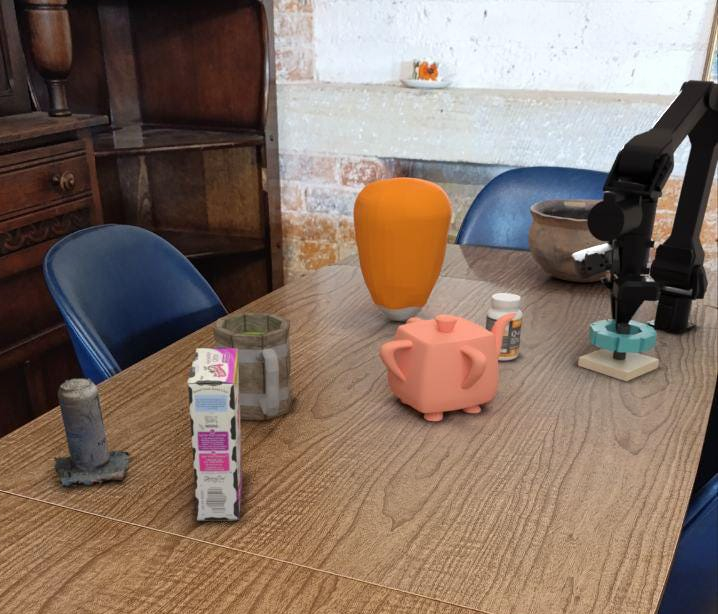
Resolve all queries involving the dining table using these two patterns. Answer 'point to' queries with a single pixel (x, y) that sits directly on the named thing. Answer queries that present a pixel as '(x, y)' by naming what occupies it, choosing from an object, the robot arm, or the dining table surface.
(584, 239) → the ceramic bowl
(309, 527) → the dining table surface
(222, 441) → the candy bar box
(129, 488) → the dining table surface
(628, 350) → the ring
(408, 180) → the orange egg-shaped ornament
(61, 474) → the grey upright cylinder
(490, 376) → the teapot
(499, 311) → the pill bottle
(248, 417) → the mug
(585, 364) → the peg stand
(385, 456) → the dining table surface
